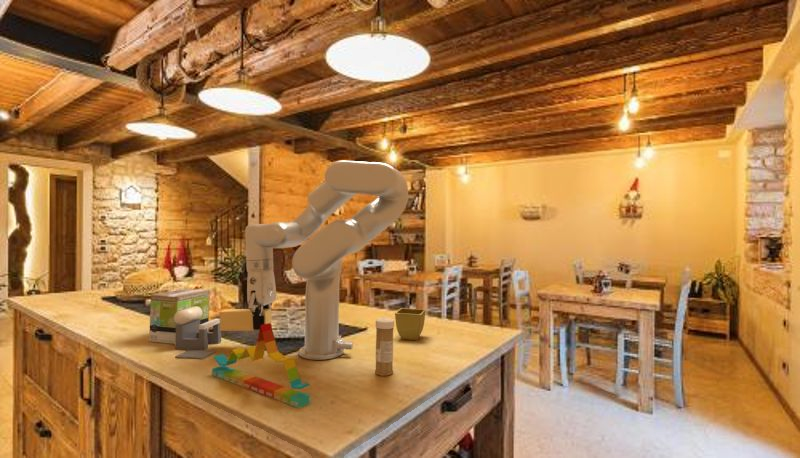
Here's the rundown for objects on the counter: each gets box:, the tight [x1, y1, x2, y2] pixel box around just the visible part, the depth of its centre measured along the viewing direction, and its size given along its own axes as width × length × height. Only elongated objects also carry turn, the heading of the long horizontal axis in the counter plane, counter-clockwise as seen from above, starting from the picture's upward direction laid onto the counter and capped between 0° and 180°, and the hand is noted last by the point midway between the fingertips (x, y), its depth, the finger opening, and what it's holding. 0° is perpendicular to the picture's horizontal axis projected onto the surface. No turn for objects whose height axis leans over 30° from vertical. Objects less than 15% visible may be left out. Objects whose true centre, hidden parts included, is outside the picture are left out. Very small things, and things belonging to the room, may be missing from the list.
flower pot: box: [394, 307, 426, 341], centre depth 132 cm, size 9×9×9 cm
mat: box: [175, 350, 216, 360], centre depth 111 cm, size 8×6×1 cm
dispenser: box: [174, 306, 222, 351], centre depth 120 cm, size 9×10×11 cm
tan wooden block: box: [219, 308, 273, 332], centre depth 118 cm, size 14×4×6 cm, turn 84°
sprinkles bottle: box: [374, 317, 395, 377], centre depth 99 cm, size 5×5×14 cm
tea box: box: [148, 288, 210, 345], centre depth 129 cm, size 15×10×15 cm
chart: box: [211, 323, 311, 409], centre depth 89 cm, size 30×3×15 cm, turn 56°
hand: (262, 326), depth 118 cm, fingers closed on tan wooden block, 4 cm apart
